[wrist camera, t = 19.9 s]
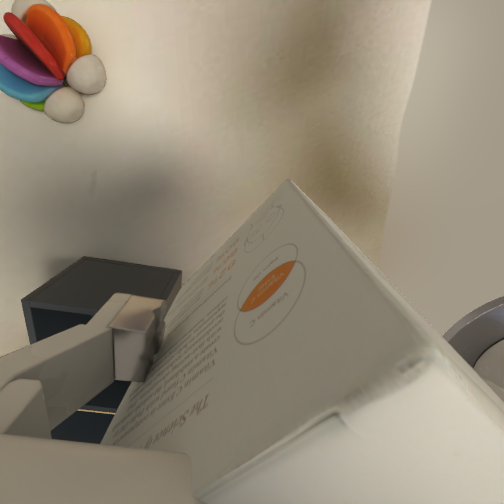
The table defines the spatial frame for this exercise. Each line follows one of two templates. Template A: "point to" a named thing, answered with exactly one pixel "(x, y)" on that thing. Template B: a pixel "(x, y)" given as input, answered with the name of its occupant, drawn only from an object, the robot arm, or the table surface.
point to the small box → (311, 379)
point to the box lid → (83, 427)
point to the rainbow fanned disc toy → (48, 61)
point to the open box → (94, 304)
